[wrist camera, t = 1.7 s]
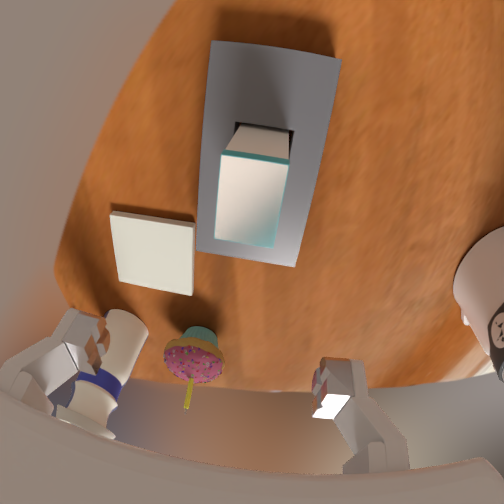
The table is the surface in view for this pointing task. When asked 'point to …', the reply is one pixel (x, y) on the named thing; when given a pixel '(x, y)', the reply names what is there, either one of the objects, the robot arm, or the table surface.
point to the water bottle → (106, 375)
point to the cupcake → (194, 358)
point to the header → (268, 114)
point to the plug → (252, 185)
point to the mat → (154, 251)
